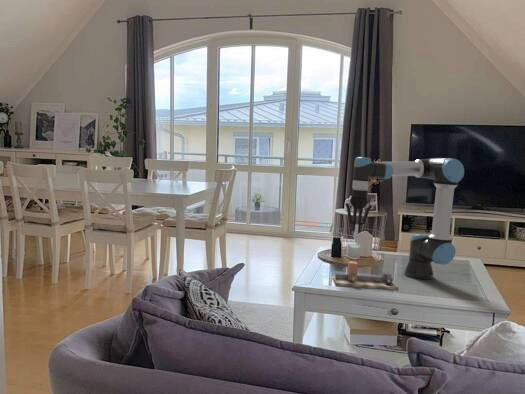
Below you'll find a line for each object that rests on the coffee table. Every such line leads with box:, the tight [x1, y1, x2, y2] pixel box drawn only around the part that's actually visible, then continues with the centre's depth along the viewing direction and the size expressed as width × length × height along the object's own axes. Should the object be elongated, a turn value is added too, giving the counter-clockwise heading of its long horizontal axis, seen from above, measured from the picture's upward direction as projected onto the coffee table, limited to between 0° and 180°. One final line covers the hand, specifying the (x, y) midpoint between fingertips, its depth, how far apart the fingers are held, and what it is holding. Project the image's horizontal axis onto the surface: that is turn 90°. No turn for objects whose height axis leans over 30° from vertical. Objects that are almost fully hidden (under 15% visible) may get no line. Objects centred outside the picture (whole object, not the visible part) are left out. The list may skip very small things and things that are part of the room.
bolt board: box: [331, 276, 399, 291], centre depth 238 cm, size 30×12×1 cm, turn 89°
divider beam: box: [334, 272, 394, 284], centre depth 238 cm, size 28×7×6 cm, turn 89°
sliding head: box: [346, 260, 359, 281], centre depth 238 cm, size 4×8×8 cm, turn 179°
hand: (355, 238), depth 234 cm, fingers closed
